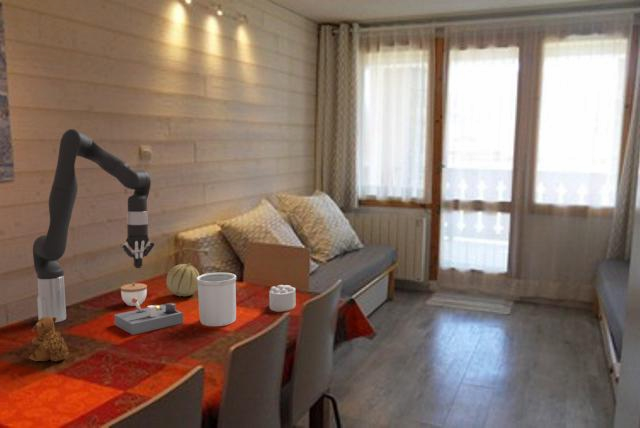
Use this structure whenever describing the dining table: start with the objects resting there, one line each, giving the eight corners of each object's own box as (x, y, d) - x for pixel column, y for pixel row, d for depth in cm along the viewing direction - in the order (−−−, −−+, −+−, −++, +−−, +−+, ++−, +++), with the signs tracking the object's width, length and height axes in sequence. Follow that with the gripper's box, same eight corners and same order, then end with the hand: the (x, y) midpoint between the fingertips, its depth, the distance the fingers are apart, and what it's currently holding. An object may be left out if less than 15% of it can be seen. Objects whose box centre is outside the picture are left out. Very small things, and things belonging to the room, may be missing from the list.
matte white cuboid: (151, 317, 205) (150, 307, 205) (147, 315, 207) (147, 306, 207) (156, 315, 207) (155, 306, 206) (152, 314, 209) (152, 305, 208)
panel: (132, 335, 198) (132, 323, 198) (114, 324, 210) (114, 314, 210) (183, 323, 212) (182, 312, 211) (163, 314, 223) (163, 304, 223)
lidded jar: (142, 307, 234) (141, 285, 233) (117, 307, 234) (116, 285, 233) (150, 300, 244) (150, 279, 243) (126, 300, 244) (125, 279, 243)
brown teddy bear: (57, 349, 185) (54, 311, 183) (79, 358, 176) (76, 318, 175) (26, 358, 177) (23, 318, 175) (47, 368, 168) (44, 326, 167)
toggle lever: (139, 313, 212) (132, 300, 209) (137, 312, 213) (130, 299, 211) (143, 309, 213) (136, 297, 210) (141, 308, 214) (134, 296, 212)
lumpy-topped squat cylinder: (297, 303, 238) (297, 283, 237) (290, 312, 225) (290, 291, 224) (274, 302, 240) (273, 282, 239) (265, 310, 227) (265, 290, 226)
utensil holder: (229, 328, 205) (228, 281, 203) (191, 326, 208) (190, 280, 206) (242, 316, 220) (241, 273, 218) (207, 314, 223) (206, 271, 221)
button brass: (152, 315, 214) (152, 308, 214) (148, 313, 217) (148, 306, 216) (161, 313, 216) (161, 306, 216) (157, 311, 219) (157, 304, 219)
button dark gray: (168, 313, 210) (168, 305, 209) (164, 311, 212) (163, 304, 212) (177, 311, 212) (176, 304, 212) (172, 309, 215) (172, 302, 214)
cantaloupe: (164, 294, 255) (163, 262, 253) (196, 290, 261) (195, 259, 260) (170, 301, 242) (169, 268, 240) (203, 297, 248) (202, 264, 246)
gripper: (123, 224, 205) (124, 271, 206) (158, 223, 213) (158, 267, 215) (116, 223, 211) (117, 268, 212) (150, 221, 219) (150, 264, 220)
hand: (138, 267), depth 213 cm, fingers closed
